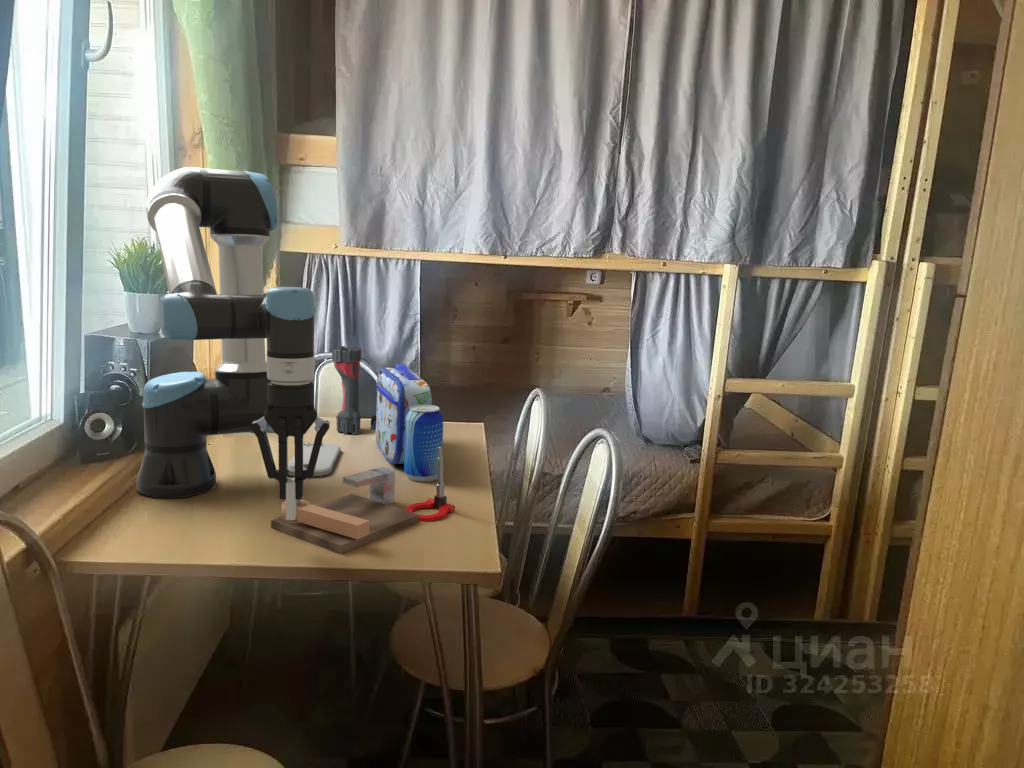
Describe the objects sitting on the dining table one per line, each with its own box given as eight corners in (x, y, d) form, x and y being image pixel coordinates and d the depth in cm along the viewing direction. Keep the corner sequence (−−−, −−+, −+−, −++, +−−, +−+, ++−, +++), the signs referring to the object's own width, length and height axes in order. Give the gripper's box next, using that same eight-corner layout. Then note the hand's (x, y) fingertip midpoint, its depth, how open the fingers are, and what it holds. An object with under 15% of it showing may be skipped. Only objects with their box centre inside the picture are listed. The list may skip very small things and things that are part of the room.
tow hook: (427, 527, 149) (459, 512, 157) (426, 462, 147) (459, 450, 154) (395, 516, 154) (427, 502, 162) (394, 453, 151) (427, 442, 159)
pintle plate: (271, 527, 144) (271, 517, 143) (351, 500, 160) (351, 491, 160) (340, 553, 134) (340, 543, 134) (418, 522, 150) (418, 512, 150)
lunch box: (367, 441, 204) (368, 358, 200) (406, 439, 208) (408, 357, 204) (391, 473, 179) (393, 378, 175) (435, 470, 183) (438, 377, 179)
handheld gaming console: (329, 467, 173) (282, 466, 172) (329, 479, 174) (282, 478, 173) (342, 440, 196) (300, 439, 195) (341, 451, 196) (300, 450, 195)
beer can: (425, 469, 184) (427, 402, 181) (449, 478, 178) (451, 409, 175) (396, 475, 178) (398, 406, 175) (419, 485, 172) (421, 413, 169)
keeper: (355, 513, 153) (356, 481, 152) (342, 508, 155) (343, 476, 154) (394, 502, 161) (395, 471, 159) (381, 497, 163) (381, 466, 162)
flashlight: (333, 427, 217) (333, 344, 213) (361, 428, 218) (363, 345, 213) (329, 434, 209) (330, 349, 205) (359, 435, 210) (360, 350, 206)
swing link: (275, 517, 143) (275, 499, 143) (295, 510, 147) (295, 492, 147) (354, 541, 135) (354, 521, 134) (372, 532, 139) (372, 513, 138)
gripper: (246, 384, 126) (248, 525, 130) (330, 385, 128) (329, 524, 132) (252, 376, 133) (254, 510, 137) (331, 377, 135) (331, 509, 139)
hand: (291, 517), depth 135 cm, fingers closed
